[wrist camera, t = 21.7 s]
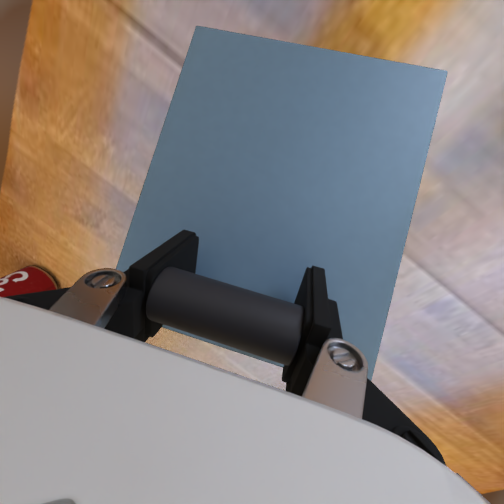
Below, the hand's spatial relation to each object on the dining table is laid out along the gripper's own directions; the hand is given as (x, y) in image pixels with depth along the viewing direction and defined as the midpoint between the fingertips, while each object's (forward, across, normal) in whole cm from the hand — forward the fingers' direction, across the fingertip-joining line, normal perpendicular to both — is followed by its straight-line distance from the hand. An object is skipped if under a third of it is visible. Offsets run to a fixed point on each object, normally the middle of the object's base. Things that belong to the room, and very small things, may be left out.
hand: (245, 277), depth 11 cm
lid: (+4, 0, -3) cm, 5 cm away
